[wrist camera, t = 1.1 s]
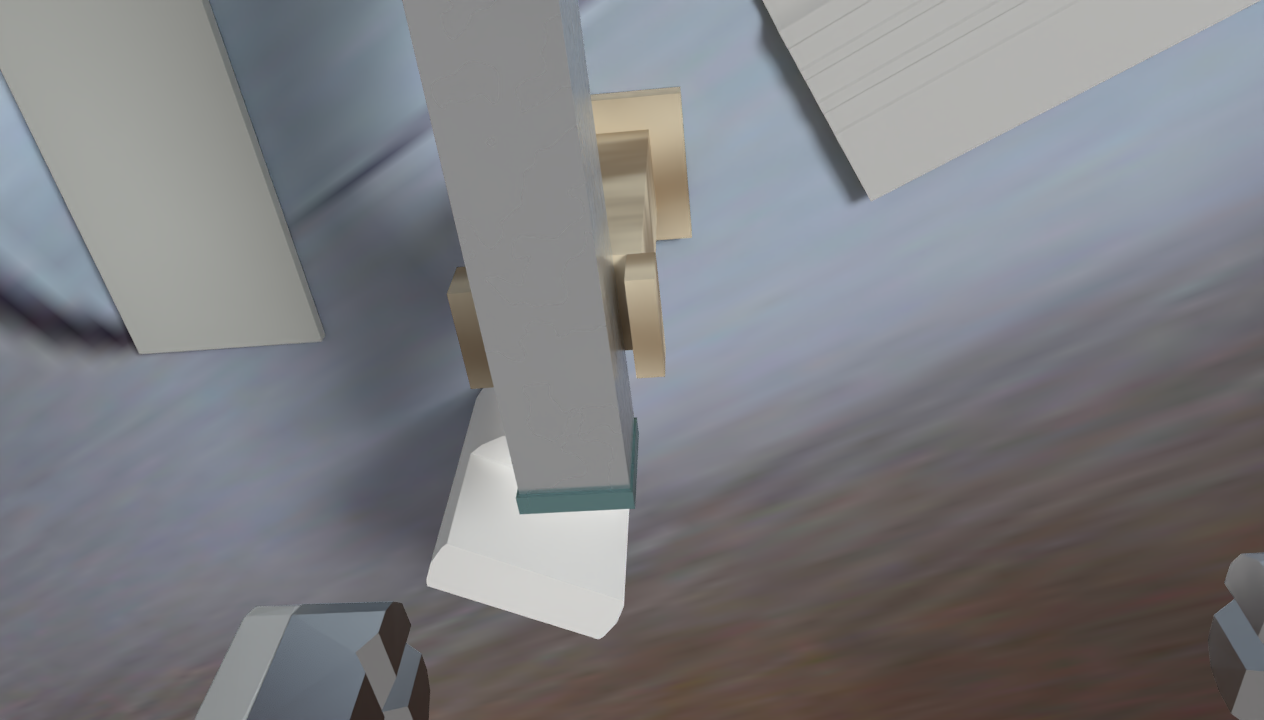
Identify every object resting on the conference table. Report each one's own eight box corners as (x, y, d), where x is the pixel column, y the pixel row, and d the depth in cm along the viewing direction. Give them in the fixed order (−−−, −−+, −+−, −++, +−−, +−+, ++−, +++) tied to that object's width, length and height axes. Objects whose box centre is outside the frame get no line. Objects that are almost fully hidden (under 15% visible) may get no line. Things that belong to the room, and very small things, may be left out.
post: (478, 105, 43) (407, 256, 31) (680, 86, 42) (681, 235, 31) (506, 244, 47) (452, 422, 35) (691, 229, 46) (696, 408, 35)
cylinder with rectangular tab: (451, 454, 55) (403, 623, 45) (503, 336, 50) (461, 496, 40) (597, 504, 57) (580, 676, 47) (660, 394, 52) (657, 561, 42)
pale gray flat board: (-263, -496, 32) (-278, -499, 31) (19, -542, 31) (8, -546, 30) (144, 347, 51) (139, 354, 51) (325, 335, 50) (322, 341, 50)
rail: (307, -612, 21) (234, -669, 18) (495, -643, 21) (458, -708, 17) (533, 439, 38) (519, 514, 35) (638, 433, 38) (635, 508, 34)
